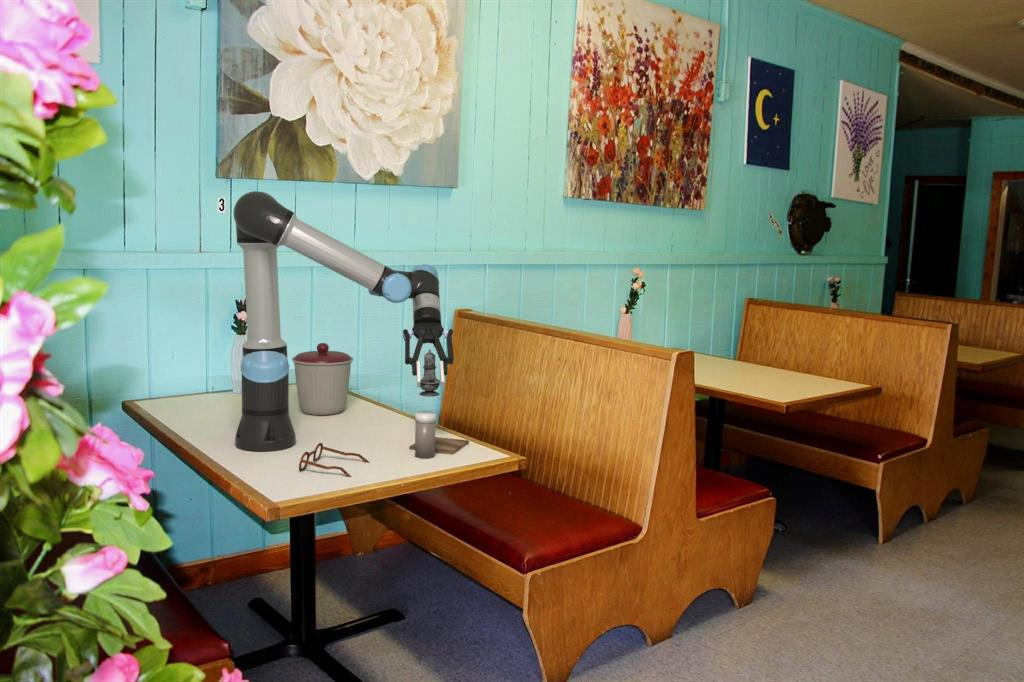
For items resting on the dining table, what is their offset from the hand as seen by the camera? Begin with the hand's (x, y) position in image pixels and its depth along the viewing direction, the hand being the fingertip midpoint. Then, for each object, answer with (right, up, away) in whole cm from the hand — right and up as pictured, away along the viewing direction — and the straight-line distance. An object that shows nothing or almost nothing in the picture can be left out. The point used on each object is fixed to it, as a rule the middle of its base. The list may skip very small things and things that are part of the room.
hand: (430, 384), depth 229 cm
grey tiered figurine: (-1, -3, +4) cm, 5 cm away
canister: (-36, -10, +40) cm, 55 cm away
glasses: (-21, -20, -17) cm, 34 cm away
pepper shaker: (-1, -18, -5) cm, 18 cm away
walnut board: (+2, -17, +5) cm, 17 cm away
